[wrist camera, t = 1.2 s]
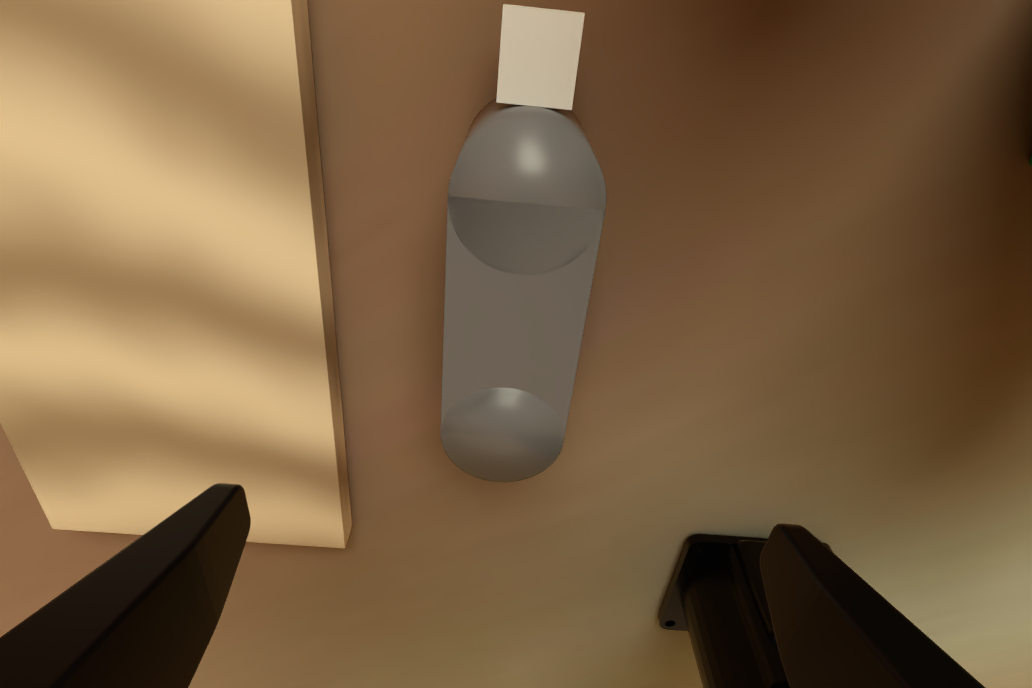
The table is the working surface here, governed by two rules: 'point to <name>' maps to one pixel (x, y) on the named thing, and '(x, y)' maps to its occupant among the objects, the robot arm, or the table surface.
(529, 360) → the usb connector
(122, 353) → the birch board
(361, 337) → the table surface
